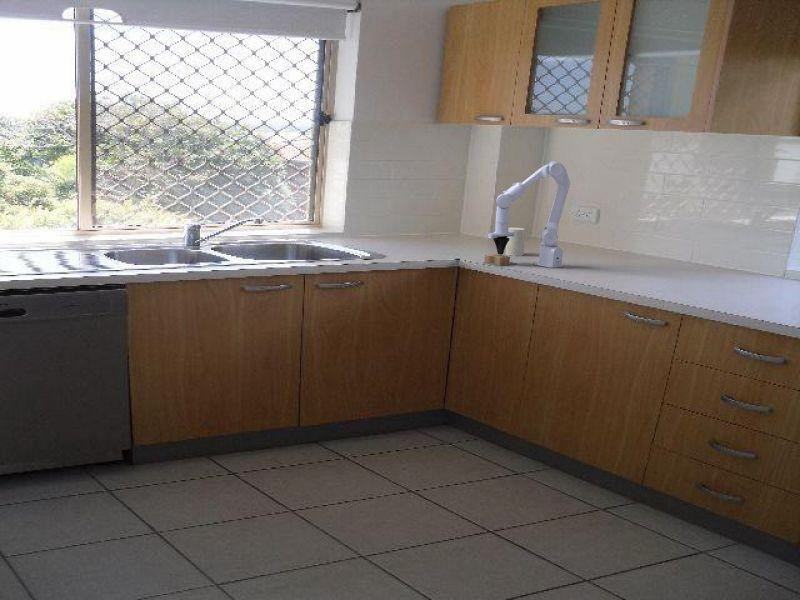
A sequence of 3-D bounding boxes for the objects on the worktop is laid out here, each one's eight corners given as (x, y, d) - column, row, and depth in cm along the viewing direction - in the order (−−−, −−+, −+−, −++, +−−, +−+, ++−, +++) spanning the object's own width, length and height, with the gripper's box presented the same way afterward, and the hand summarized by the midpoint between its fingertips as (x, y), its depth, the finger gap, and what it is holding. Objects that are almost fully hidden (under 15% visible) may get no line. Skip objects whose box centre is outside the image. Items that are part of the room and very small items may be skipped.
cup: (502, 254, 387) (504, 228, 385) (509, 252, 394) (510, 227, 392) (519, 256, 384) (521, 230, 381) (525, 254, 391) (527, 228, 388)
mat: (517, 264, 363) (517, 263, 363) (499, 266, 356) (499, 265, 356) (500, 260, 370) (500, 259, 370) (482, 262, 363) (482, 261, 363)
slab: (509, 256, 360) (500, 257, 356) (509, 263, 361) (499, 264, 357) (494, 253, 367) (484, 254, 363) (494, 260, 368) (484, 261, 364)
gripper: (507, 220, 367) (505, 251, 370) (483, 222, 358) (481, 254, 361) (519, 222, 362) (517, 253, 365) (495, 224, 353) (493, 256, 355)
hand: (500, 254), depth 362 cm, fingers closed
